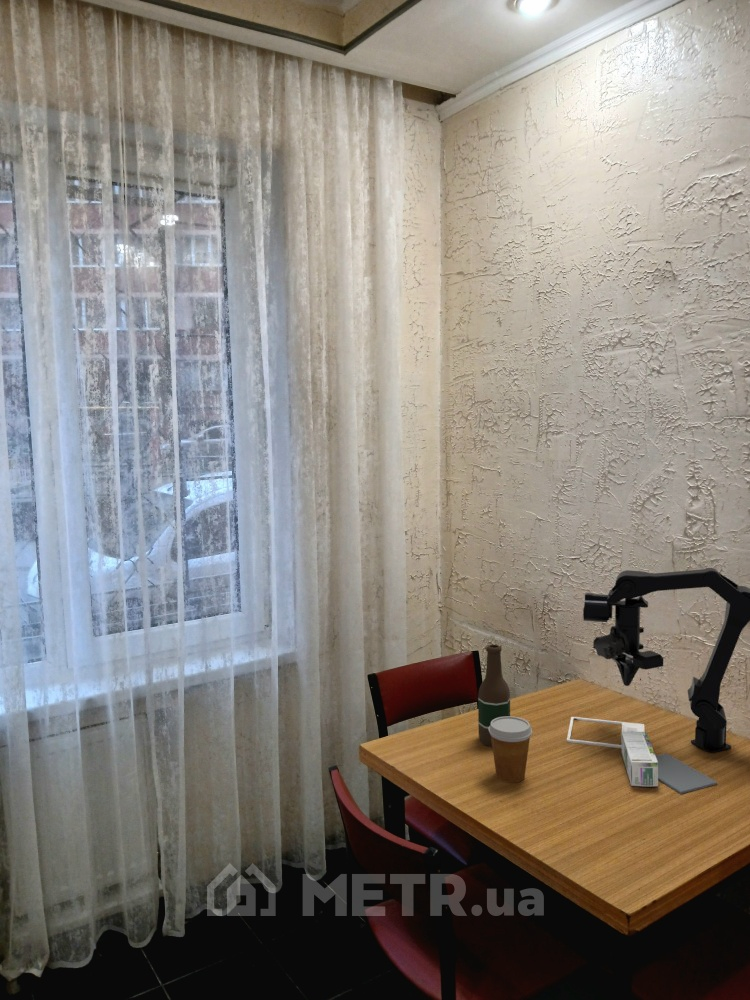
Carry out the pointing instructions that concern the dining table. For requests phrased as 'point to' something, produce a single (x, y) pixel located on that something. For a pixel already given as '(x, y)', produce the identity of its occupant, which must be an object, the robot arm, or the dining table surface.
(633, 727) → the photo frame
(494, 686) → the beer bottle
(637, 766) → the syrup box
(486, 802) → the dining table surface
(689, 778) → the mat
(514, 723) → the disposable coffee cup
